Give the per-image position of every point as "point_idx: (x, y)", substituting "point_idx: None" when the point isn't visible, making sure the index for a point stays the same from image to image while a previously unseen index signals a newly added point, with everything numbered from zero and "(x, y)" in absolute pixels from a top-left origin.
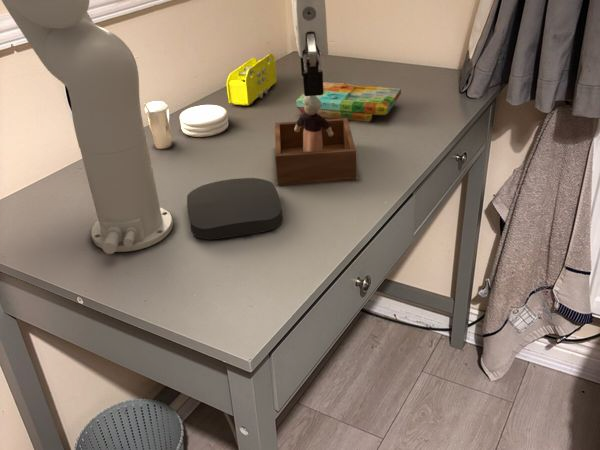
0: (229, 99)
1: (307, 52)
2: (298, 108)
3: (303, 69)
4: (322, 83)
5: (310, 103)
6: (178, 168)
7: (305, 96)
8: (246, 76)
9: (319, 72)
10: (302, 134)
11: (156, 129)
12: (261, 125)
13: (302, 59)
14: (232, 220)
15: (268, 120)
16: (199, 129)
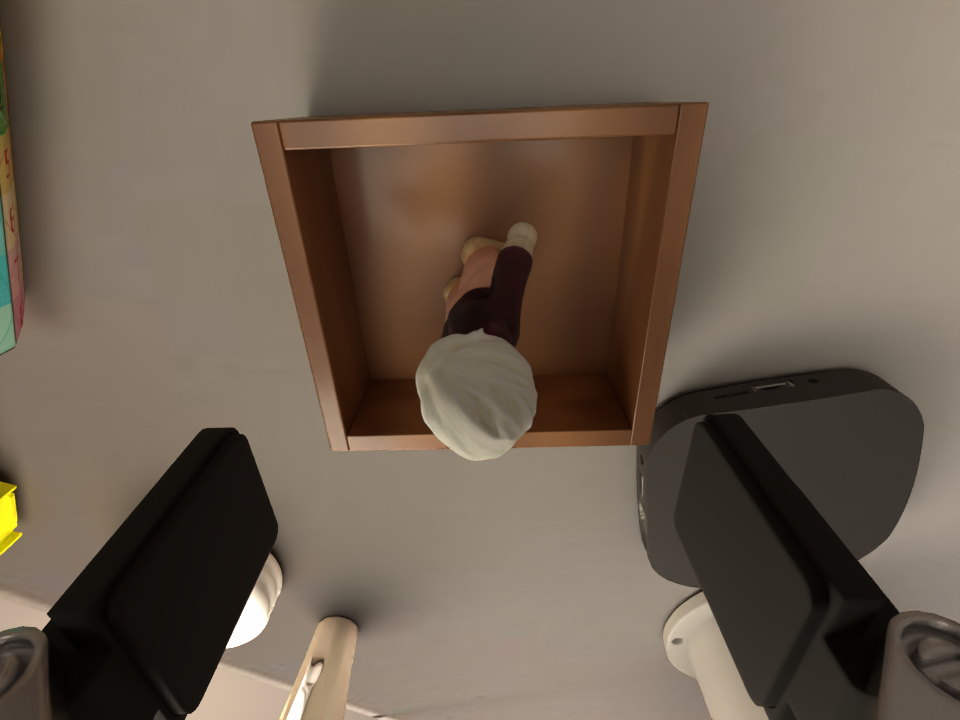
0: (7, 543)
1: (130, 716)
2: (18, 333)
3: (255, 573)
4: (788, 482)
5: (533, 416)
6: (468, 591)
7: (477, 458)
8: None
9: (942, 634)
10: (343, 330)
11: (347, 689)
12: (163, 436)
13: (208, 669)
14: (893, 502)
15: (113, 417)
16: (273, 592)
